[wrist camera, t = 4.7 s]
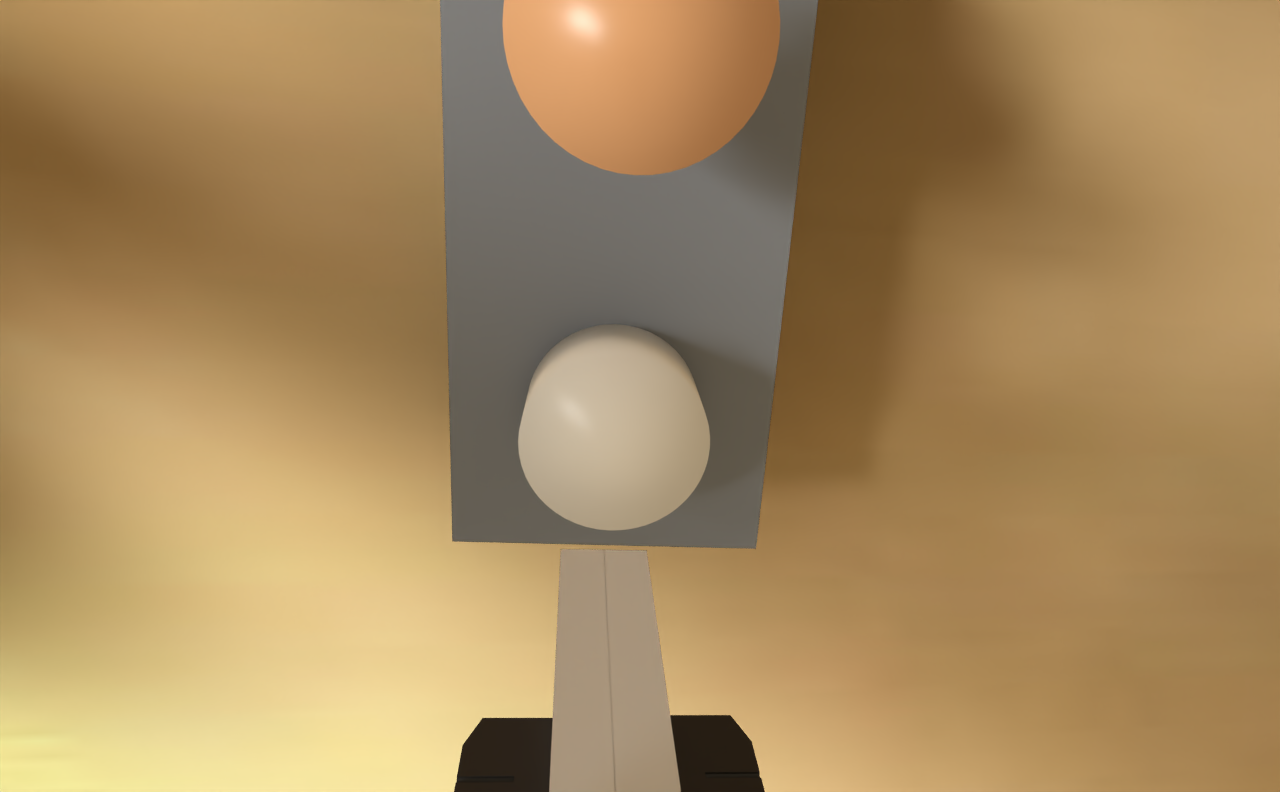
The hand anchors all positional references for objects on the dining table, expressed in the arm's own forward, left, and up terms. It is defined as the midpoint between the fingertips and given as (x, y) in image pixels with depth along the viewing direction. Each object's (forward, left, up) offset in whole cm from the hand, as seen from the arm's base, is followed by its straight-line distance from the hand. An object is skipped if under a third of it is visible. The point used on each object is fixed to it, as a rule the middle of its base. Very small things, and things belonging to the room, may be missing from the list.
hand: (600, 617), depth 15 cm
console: (0, +5, -20) cm, 20 cm away
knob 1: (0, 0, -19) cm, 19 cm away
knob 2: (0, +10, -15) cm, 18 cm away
